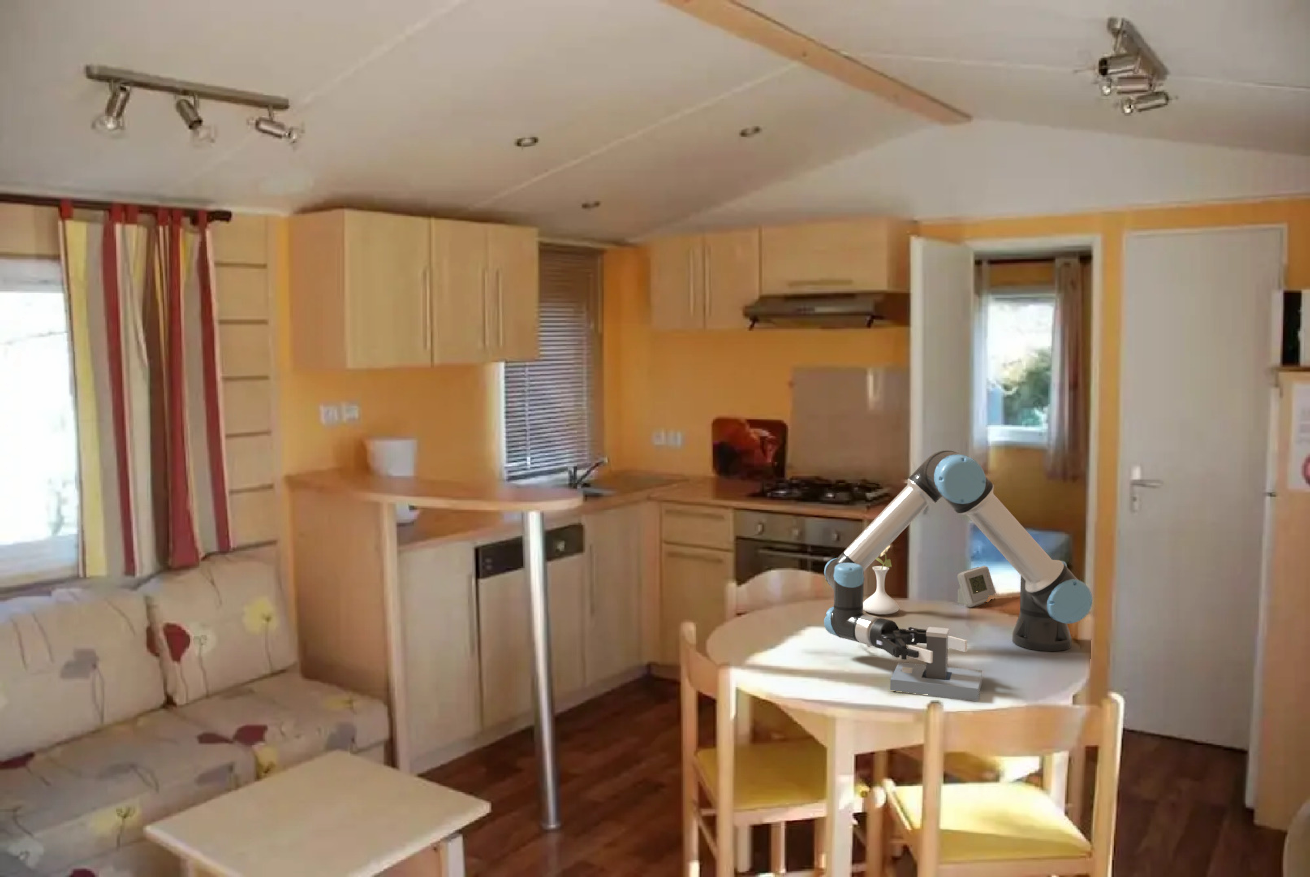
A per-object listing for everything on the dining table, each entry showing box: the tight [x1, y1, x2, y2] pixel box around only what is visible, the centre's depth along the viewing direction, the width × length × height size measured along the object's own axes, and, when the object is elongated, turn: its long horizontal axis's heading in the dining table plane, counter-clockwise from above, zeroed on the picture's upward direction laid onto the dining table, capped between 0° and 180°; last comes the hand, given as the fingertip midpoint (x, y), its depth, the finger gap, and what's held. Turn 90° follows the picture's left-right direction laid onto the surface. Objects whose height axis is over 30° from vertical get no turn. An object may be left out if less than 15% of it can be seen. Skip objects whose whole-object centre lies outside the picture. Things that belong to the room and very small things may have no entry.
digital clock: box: [956, 565, 997, 608], centre depth 336 cm, size 16×9×11 cm, turn 121°
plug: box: [925, 626, 950, 680], centre depth 257 cm, size 5×5×14 cm
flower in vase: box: [863, 544, 900, 615], centre depth 323 cm, size 13×11×25 cm
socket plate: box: [889, 661, 983, 702], centre depth 257 cm, size 20×14×4 cm
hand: (949, 651), depth 254 cm, fingers open, 13 cm apart
